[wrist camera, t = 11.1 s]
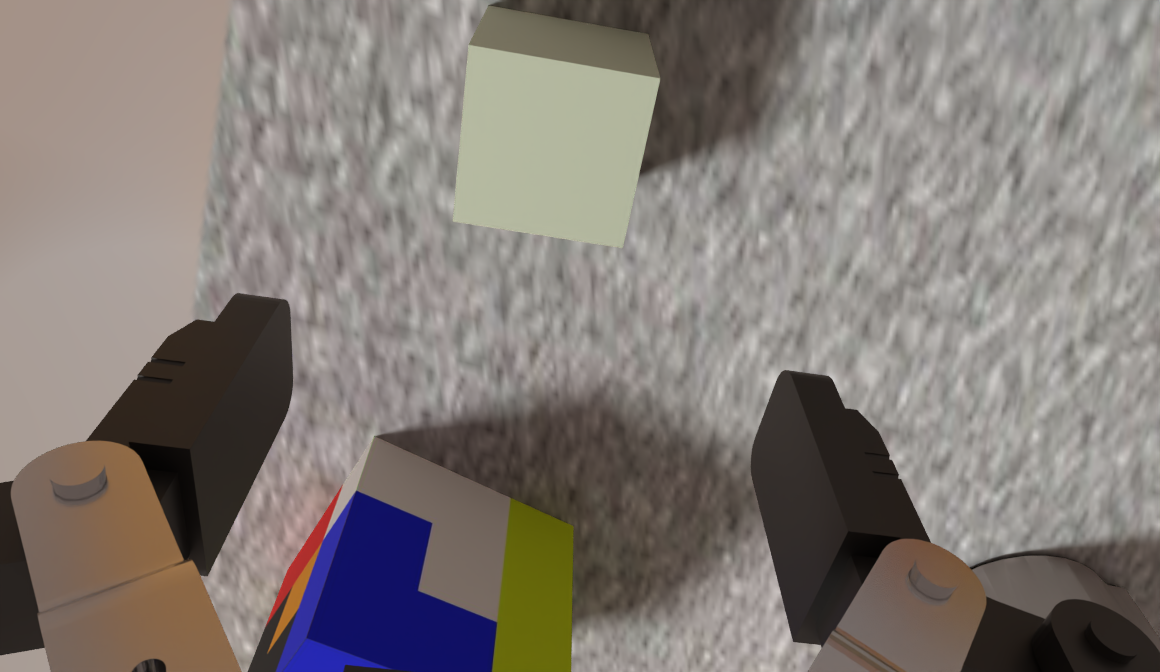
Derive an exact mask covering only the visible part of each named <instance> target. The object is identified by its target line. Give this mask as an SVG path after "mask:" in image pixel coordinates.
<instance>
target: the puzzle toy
mask: <svg viewBox="0 0 1160 672" xmlns="http://www.w3.org/2000/svg"><path fill="white" fill-rule="evenodd" d="M573 529H574V526H572V525H570V524H567V523H565V522H563V521H561V520H558V519H556V518H554V517H552V516H550V515H547V514H545V513H543V512H541V511H539V510H536V509H534V508H532V507H530V506H528V505H525V504H523V503H521V502H519V501H516V500H514V499H512V498H510V497H508V496H505V495H503V494H501V493H499V492H497V491H494V490H492V489H490V488H488V487H486V486H483V485H481V484H479V483H477V482H474V481H472V480H470V479H468V478H466V477H463V476H461V475H459V474H457V473H455V472H452V471H450V470H448V469H446V468H443V467H441V466H439V465H437V464H435V463H432V462H430V461H428V460H426V459H424V458H421V457H419V456H417V455H415V454H413V453H410V452H408V451H406V450H404V449H401V448H399V447H397V446H395V445H393V444H390V443H388V442H386V441H384V440H382V439H379V438H377V437H375V436H374V437H373V439H372V441H371V442H370V444H369V445H368V447H367V448H366V450H365V451H364V453H363V454H362V456H361V458H360V459H359V461H358V462H357V464H356V465H355V467H354V468H353V470H352V471H351V473H350V475H349V476H348V478H347V479H346V481H345V482H344V484H343V485H342V487H341V488H340V490H339V492H338V493H337V495H336V496H335V498H334V499H333V501H332V502H331V504H330V505H329V507H328V509H327V510H326V512H325V513H324V515H323V516H322V518H321V519H320V521H319V522H318V524H317V526H316V527H315V529H314V530H313V532H312V533H311V535H310V536H309V538H308V539H307V541H306V543H305V544H304V546H303V547H302V549H301V550H300V552H299V553H298V555H297V556H296V558H295V560H294V561H293V563H292V564H291V566H290V567H289V569H288V571H287V573H286V576H285V578H284V581H283V583H282V586H281V589H280V591H279V594H278V596H277V599H276V601H275V604H274V606H273V609H272V611H271V614H270V617H269V619H268V622H267V624H266V627H265V629H264V632H263V634H262V637H261V640H260V642H259V645H258V647H257V650H256V652H255V655H254V657H253V660H252V662H251V665H250V668H249V670H248V672H343V671H344V667H345V665H353V666H363V667H373V668H383V669H393V670H403V671H413V672H571V647H572V588H573Z"/></svg>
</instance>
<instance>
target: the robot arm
mask: <svg viewBox="0 0 1160 672" xmlns="http://www.w3.org/2000/svg"><path fill="white" fill-rule="evenodd" d="M151 359H152V360H151V362H148V363H147V364H146V365H145V366H144V368H143V369H142V370H141V372H140V373H139V374H138V378H137V380H133V382H132V383H131V384H130V386H129V387H128V388H127V389H126V391H125V392H124V393H123V394H122V396H121V397H120V398H119V400H118V401H117V402H116V403H115V405H114V406H113V407H112V409H111V410H110V411H109V412H108V413H107V415H106V416H105V417H104V419H103V420H102V421H101V422H100V424H99V425H98V426H97V427H96V429H95V430H94V431H93V433H92V434H91V435H90V436H89V438H88V439H87V440H86V441H85V442H77V443H73V444H68V445H65V446H61V447H58V448H56V449H53V450H51V451H49V452H46V453H44V454H42V455H41V456H39V457H37V458H36V459H34V460H33V461H31V462H30V463H29V464H27V465H26V466H25V467H24V468H23V469H22V470H21V471H20V472H19V474H18V475H17V476H16V478H15V480H14V481H10V482H3V483H0V655H5V654H10V653H17V652H22V651H28V650H34V649H39V648H45V649H46V653H47V658H48V662H49V666H50V670H51V672H242V671H241V669H240V667H239V664H238V662H237V660H236V657H235V655H234V653H233V650H232V648H231V646H230V643H229V641H228V639H227V636H226V634H225V632H224V630H223V627H222V625H221V623H220V620H219V618H218V616H217V613H216V611H215V609H214V606H213V604H212V602H211V599H210V597H209V595H208V592H207V590H206V588H205V585H204V583H203V581H202V579H201V576H208V574H209V572H210V570H211V568H212V566H213V564H214V562H215V560H216V558H217V556H218V554H219V552H220V550H221V548H222V546H223V544H224V542H225V540H226V538H227V535H228V533H229V531H230V529H231V527H232V525H233V523H234V521H235V519H236V517H237V515H238V513H239V511H240V509H241V507H242V505H243V503H244V501H245V499H246V497H247V495H248V493H249V491H250V489H251V486H252V484H253V482H254V480H255V478H256V476H257V474H258V472H259V470H260V468H261V466H262V464H263V462H264V460H265V458H266V456H267V454H268V452H269V450H270V448H271V446H272V444H273V442H274V439H275V437H276V435H277V433H278V431H279V429H280V427H281V425H282V423H283V421H284V419H285V417H286V414H287V412H288V408H289V405H290V401H291V395H292V388H293V365H292V341H291V317H290V307H289V304H288V302H287V301H286V300H284V299H276V298H269V297H262V296H255V295H247V294H240V293H237V294H235V295H234V296H233V297H232V298H231V300H230V301H229V302H228V304H227V305H226V307H225V308H224V309H223V311H222V312H221V314H220V315H219V316H218V318H217V319H216V321H215V322H211V321H204V320H195V321H193V322H192V323H190V324H188V325H187V326H185V327H184V328H181V329H180V330H178V331H177V332H175V333H173V334H171V335H170V336H168V337H167V338H166V340H165V341H164V342H163V344H162V345H161V346H160V347H159V349H158V350H157V351H156V352H155V354H154V355H153V356H152V358H151ZM889 456H890V455H889V453H888V451H887V448H886V446H885V444H884V442H883V440H882V438H881V436H880V434H879V432H878V431H877V430H876V429H875V428H874V427H873V426H872V425H871V424H870V423H869V422H868V421H867V420H866V419H865V418H864V417H863V416H862V415H861V414H860V413H859V411H858V410H853V409H846V408H845V407H844V405H843V403H842V400H841V398H840V396H839V393H838V391H837V389H836V387H835V384H834V382H833V380H832V379H831V378H830V377H829V376H824V375H817V374H810V373H802V372H795V371H788V370H784V371H783V372H781V374H780V375H779V377H778V378H777V381H776V383H775V386H774V389H773V391H772V394H771V397H770V399H769V402H768V405H767V407H766V410H765V413H764V416H763V418H762V421H761V424H760V426H759V429H758V432H757V434H756V437H755V440H754V444H753V448H752V455H751V475H752V480H753V484H754V488H755V492H756V496H757V500H758V504H759V508H760V511H761V515H762V519H763V523H764V527H765V531H766V535H767V539H768V543H769V547H770V551H771V555H772V559H773V563H774V567H775V571H776V575H777V579H778V583H779V587H780V591H781V595H782V599H783V603H784V607H785V611H786V615H787V619H788V623H789V627H790V631H791V635H792V639H793V642H799V643H808V644H818V645H821V647H822V649H821V651H820V652H819V654H818V655H817V657H816V659H815V660H814V662H813V664H812V665H811V667H810V669H809V670H808V672H1160V638H1159V637H1158V635H1157V634H1156V632H1155V631H1154V629H1153V628H1152V627H1151V625H1150V624H1149V622H1148V621H1147V619H1146V618H1145V616H1144V615H1143V614H1142V612H1141V611H1140V609H1139V608H1138V606H1137V605H1136V603H1135V602H1134V601H1133V599H1132V598H1131V596H1130V595H1129V593H1128V592H1127V590H1126V589H1125V588H1123V587H1115V586H1110V585H1107V584H1106V583H1104V582H1103V581H1102V580H1101V579H1100V577H1099V576H1098V575H1097V574H1096V573H1095V572H1094V571H1093V570H1091V569H1089V568H1088V567H1086V566H1084V565H1083V564H1081V563H1078V562H1075V561H1072V560H1069V559H1066V558H1060V557H1052V556H1021V557H1015V558H1008V559H1002V560H999V561H995V562H992V563H988V564H985V565H982V566H979V567H977V568H975V569H972V570H971V569H970V568H969V567H968V566H967V565H966V564H965V563H964V562H963V561H962V560H960V559H959V558H958V557H957V556H955V555H954V554H952V553H951V552H949V551H947V550H945V549H943V548H942V547H940V546H937V545H935V544H932V543H931V542H930V539H929V537H928V535H927V533H926V531H925V529H924V527H923V525H922V523H921V520H920V518H919V516H918V514H917V512H916V510H915V508H914V506H913V503H912V501H911V499H910V497H909V495H908V493H907V491H906V489H905V487H904V484H903V482H902V480H901V479H898V475H899V474H898V472H897V470H896V468H895V465H894V463H893V461H892V460H889ZM200 575H201V576H200ZM343 672H413V671H403V670H393V669H383V668H373V667H363V666H353V665H345V667H344V671H343Z"/></svg>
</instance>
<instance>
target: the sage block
mask: <svg viewBox="0 0 1160 672" xmlns="http://www.w3.org/2000/svg"><path fill="white" fill-rule="evenodd" d="M659 83H660V75H659V72H658V68H657V64H656V60H655V57H654V53H653V49H652V46H651V42H650V38H649V35H648V34H645V33H640V32H634V31H628V30H623V29H617V28H612V27H606V26H601V25H595V24H590V23H584V22H578V21H573V20H567V19H562V18H556V17H551V16H545V15H540V14H534V13H528V12H523V11H517V10H512V9H506V8H501V7H495V6H488V8H487V10H486V12H485V14H484V16H483V17H482V19H481V21H480V23H479V25H478V27H477V29H476V31H475V33H474V35H473V37H472V39H471V41H470V43H469V47H468V58H467V69H466V80H465V92H464V103H463V114H462V125H461V136H460V147H459V158H458V169H457V180H456V191H455V202H454V213H453V222H459V223H466V224H472V225H478V226H485V227H491V228H497V229H504V230H510V231H517V232H523V233H529V234H536V235H542V236H549V237H555V238H561V239H568V240H574V241H581V242H587V243H593V244H600V245H606V246H612V247H619V248H623V244H624V240H625V235H626V231H627V226H628V222H629V217H630V213H631V208H632V204H633V199H634V195H635V190H636V186H637V181H638V177H639V172H640V168H641V163H642V159H643V154H644V150H645V145H646V141H647V136H648V132H649V127H650V123H651V119H652V114H653V110H654V105H655V101H656V96H657V92H658V87H659Z"/></svg>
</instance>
